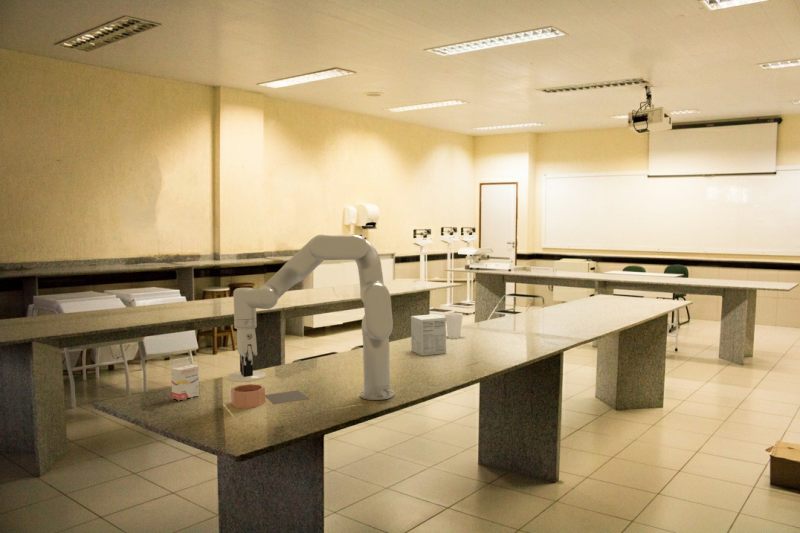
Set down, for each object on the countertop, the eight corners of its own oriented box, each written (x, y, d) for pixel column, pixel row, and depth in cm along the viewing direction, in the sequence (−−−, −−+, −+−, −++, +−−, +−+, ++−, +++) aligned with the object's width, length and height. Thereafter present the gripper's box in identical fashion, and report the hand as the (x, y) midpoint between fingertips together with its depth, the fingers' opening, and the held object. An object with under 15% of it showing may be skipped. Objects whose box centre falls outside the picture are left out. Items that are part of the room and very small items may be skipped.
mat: (309, 400, 223) (309, 398, 223) (273, 405, 218) (273, 404, 217) (297, 391, 235) (297, 390, 235) (263, 396, 229) (263, 395, 229)
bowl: (267, 406, 217) (267, 389, 216) (236, 411, 212) (235, 394, 211) (259, 399, 226) (259, 382, 226) (229, 403, 221) (229, 386, 221)
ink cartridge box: (179, 402, 225) (177, 361, 223) (171, 399, 228) (169, 360, 227) (200, 396, 231) (198, 357, 230) (192, 394, 234) (190, 355, 233)
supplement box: (446, 353, 298) (446, 317, 297) (421, 356, 293) (421, 319, 292) (435, 348, 310) (434, 313, 309) (410, 351, 306) (410, 315, 304)
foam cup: (443, 338, 336) (443, 314, 335) (447, 335, 345) (447, 312, 344) (461, 339, 333) (460, 315, 332) (464, 336, 342) (464, 312, 341)
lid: (270, 379, 215) (269, 364, 215) (232, 383, 210) (231, 368, 209) (260, 371, 227) (260, 357, 227) (224, 375, 221) (223, 361, 221)
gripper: (262, 325, 211) (263, 378, 213) (250, 319, 226) (251, 369, 227) (239, 327, 208) (241, 381, 209) (229, 321, 222) (231, 371, 224)
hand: (246, 374), depth 218 cm, fingers closed on lid, 2 cm apart
